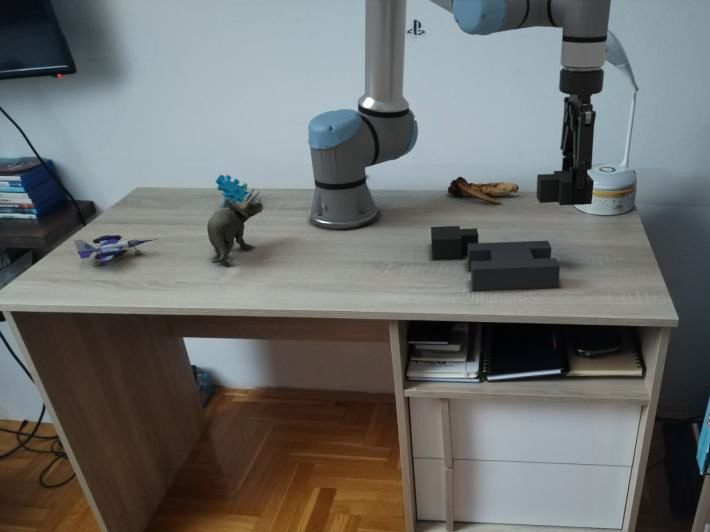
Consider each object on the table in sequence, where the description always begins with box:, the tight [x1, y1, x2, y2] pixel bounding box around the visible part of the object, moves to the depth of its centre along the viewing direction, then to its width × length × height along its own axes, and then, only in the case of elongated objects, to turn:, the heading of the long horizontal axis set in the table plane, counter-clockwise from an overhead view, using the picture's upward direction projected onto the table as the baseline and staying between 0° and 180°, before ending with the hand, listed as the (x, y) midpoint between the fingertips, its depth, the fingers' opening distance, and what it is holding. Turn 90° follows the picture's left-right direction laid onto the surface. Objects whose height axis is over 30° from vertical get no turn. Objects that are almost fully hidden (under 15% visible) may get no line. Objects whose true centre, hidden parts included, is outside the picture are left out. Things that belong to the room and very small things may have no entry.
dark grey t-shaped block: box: [430, 225, 479, 261], centre depth 134 cm, size 7×10×4 cm
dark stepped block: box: [536, 170, 595, 206], centre depth 122 cm, size 7×10×4 cm
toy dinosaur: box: [206, 188, 264, 267], centre depth 131 cm, size 22×8×11 cm, turn 168°
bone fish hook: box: [447, 176, 520, 205], centre depth 162 cm, size 9×5×18 cm
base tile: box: [467, 240, 561, 292], centre depth 124 cm, size 12×16×4 cm
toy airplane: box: [74, 234, 158, 266], centre depth 133 cm, size 13×14×4 cm
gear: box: [214, 174, 255, 207], centre depth 159 cm, size 11×6×10 cm
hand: (572, 197), depth 123 cm, fingers closed on dark stepped block, 7 cm apart
